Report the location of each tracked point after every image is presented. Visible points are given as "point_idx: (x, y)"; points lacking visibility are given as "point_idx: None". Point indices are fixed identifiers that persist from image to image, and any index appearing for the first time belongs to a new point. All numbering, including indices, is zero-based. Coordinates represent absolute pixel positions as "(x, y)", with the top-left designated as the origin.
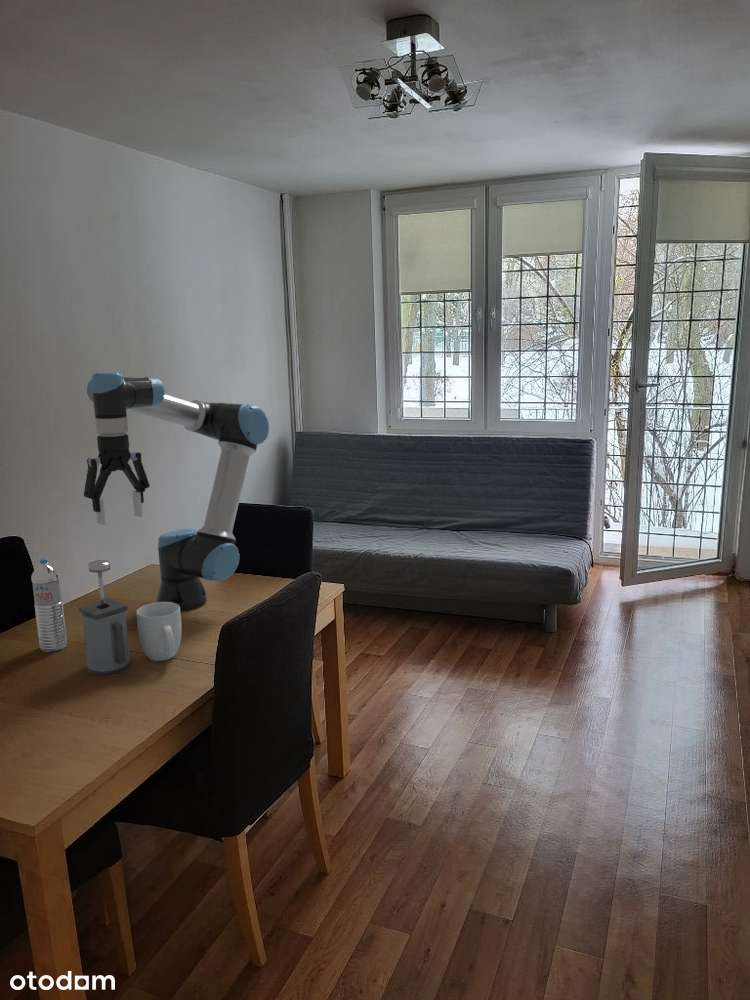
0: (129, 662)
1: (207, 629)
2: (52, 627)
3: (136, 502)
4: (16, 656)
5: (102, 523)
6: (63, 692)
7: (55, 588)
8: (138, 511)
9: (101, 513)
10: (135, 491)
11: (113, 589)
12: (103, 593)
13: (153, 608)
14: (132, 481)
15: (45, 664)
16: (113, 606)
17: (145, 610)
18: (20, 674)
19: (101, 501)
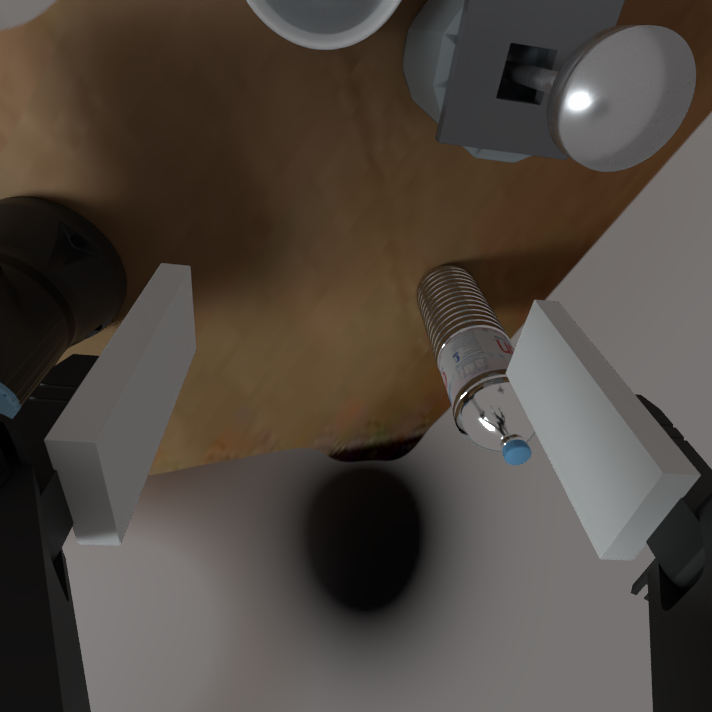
0: (421, 7)
1: (83, 3)
2: (478, 295)
3: (154, 385)
4: (515, 313)
5: (560, 311)
6: (639, 17)
7: (489, 355)
8: (179, 306)
9: (604, 365)
10: (86, 519)
11: (154, 459)
12: (549, 71)
13: (293, 29)
14: (71, 689)
15: (521, 223)
16: (509, 29)
17: (331, 35)
18: (585, 222)
19: (672, 455)
